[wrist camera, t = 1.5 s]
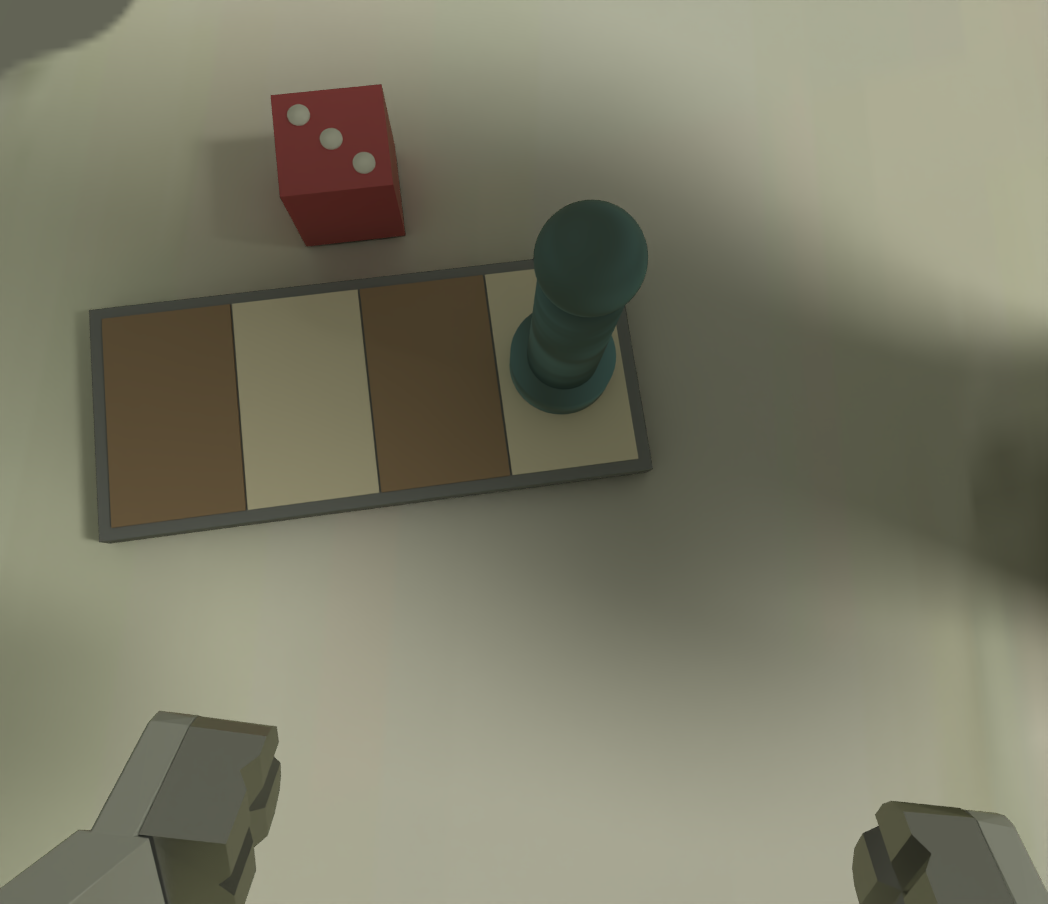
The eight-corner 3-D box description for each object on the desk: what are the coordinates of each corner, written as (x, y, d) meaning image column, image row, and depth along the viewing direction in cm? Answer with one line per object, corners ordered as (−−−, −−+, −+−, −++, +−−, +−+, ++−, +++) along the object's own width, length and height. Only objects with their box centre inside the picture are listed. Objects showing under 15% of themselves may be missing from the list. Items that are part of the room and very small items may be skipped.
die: (394, 144, 37) (380, 80, 32) (405, 235, 36) (392, 183, 32) (297, 154, 37) (269, 91, 32) (306, 246, 36) (279, 195, 31)
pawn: (602, 311, 35) (662, 153, 22) (618, 407, 34) (689, 299, 22) (503, 322, 34) (508, 169, 22) (516, 420, 34) (530, 317, 21)
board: (612, 258, 36) (615, 248, 35) (648, 471, 35) (653, 468, 34) (99, 317, 35) (87, 309, 34) (109, 543, 33) (98, 541, 32)
